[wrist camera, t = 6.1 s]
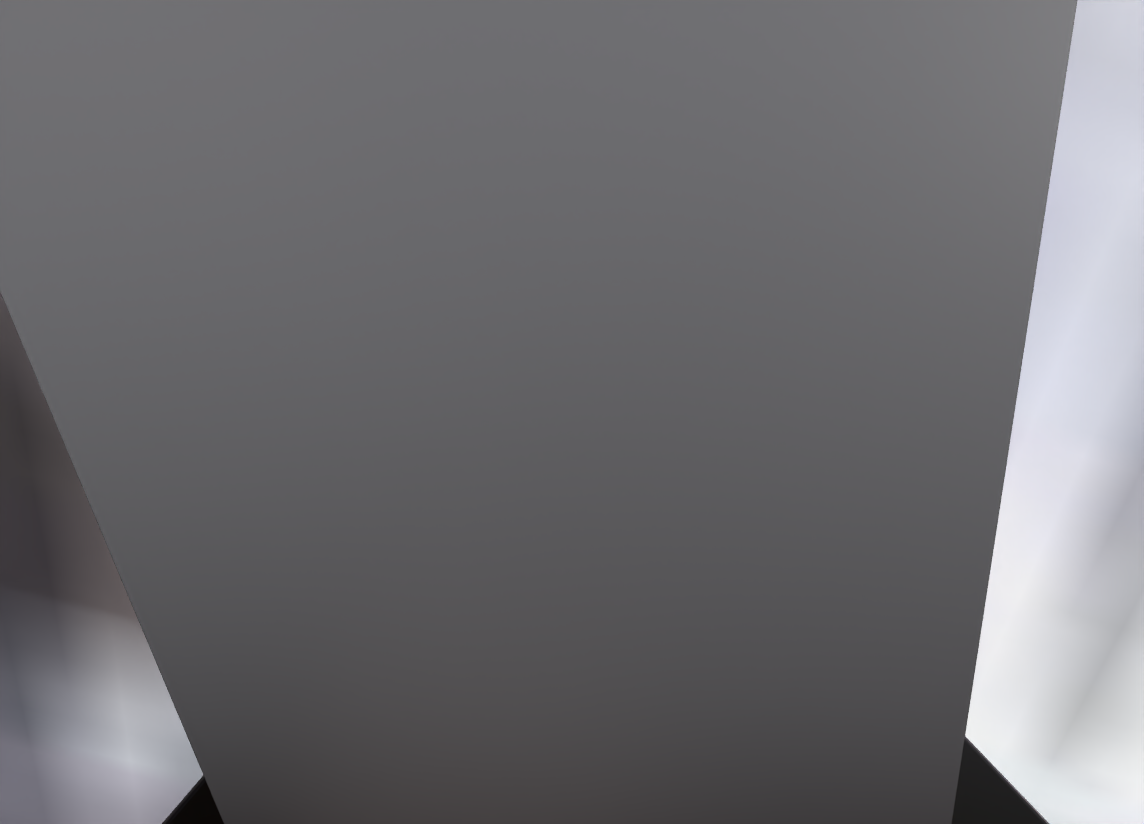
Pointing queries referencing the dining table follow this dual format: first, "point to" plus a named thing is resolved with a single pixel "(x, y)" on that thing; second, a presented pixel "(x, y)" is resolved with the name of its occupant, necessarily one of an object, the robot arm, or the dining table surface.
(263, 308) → the grey long bar
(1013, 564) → the dining table surface
